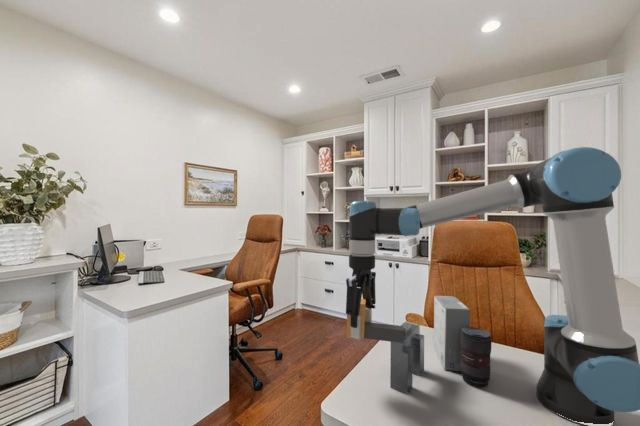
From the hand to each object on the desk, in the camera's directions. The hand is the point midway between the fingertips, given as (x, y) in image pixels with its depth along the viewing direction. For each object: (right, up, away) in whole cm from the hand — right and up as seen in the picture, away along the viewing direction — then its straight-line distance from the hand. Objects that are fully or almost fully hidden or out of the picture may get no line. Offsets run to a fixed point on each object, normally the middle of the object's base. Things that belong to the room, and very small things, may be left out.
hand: (361, 333), depth 82 cm
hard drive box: (+33, -16, +15) cm, 39 cm away
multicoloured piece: (+4, -1, 0) cm, 4 cm away
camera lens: (+35, -16, +3) cm, 38 cm away
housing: (+15, -15, +4) cm, 22 cm away
